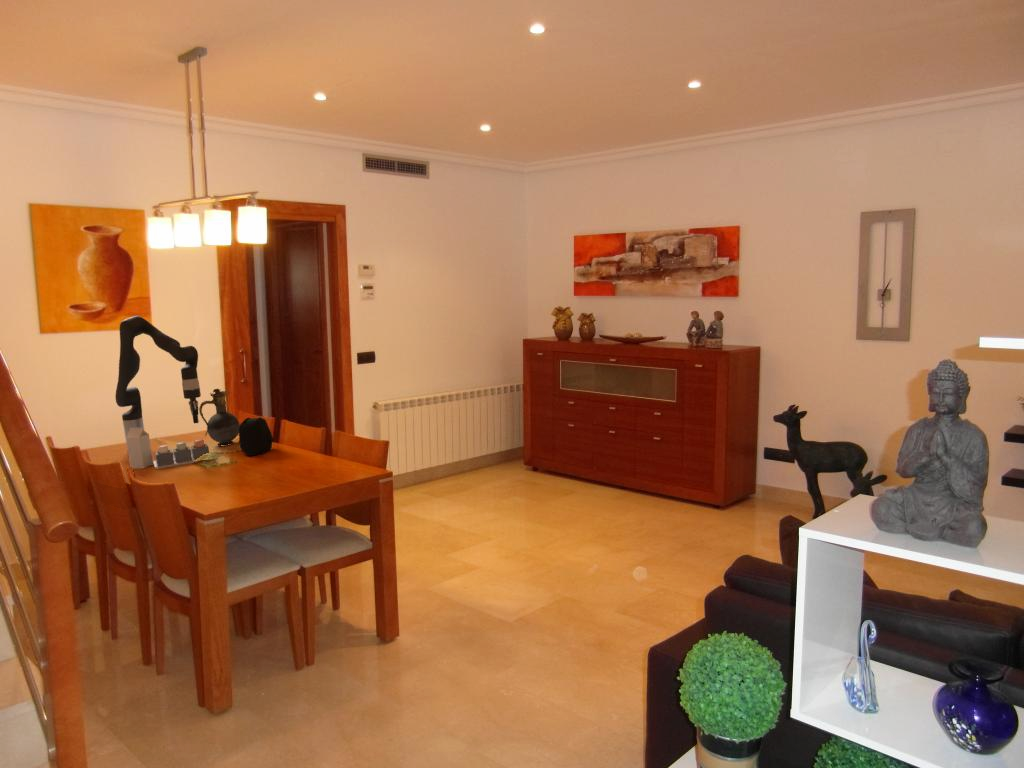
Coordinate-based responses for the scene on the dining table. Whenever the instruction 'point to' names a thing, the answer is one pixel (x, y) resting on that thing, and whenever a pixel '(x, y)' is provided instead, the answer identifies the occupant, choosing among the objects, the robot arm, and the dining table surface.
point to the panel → (179, 457)
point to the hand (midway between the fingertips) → (196, 422)
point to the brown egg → (199, 443)
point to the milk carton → (139, 448)
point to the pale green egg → (181, 446)
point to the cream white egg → (163, 449)
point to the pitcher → (221, 420)
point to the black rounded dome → (255, 436)
